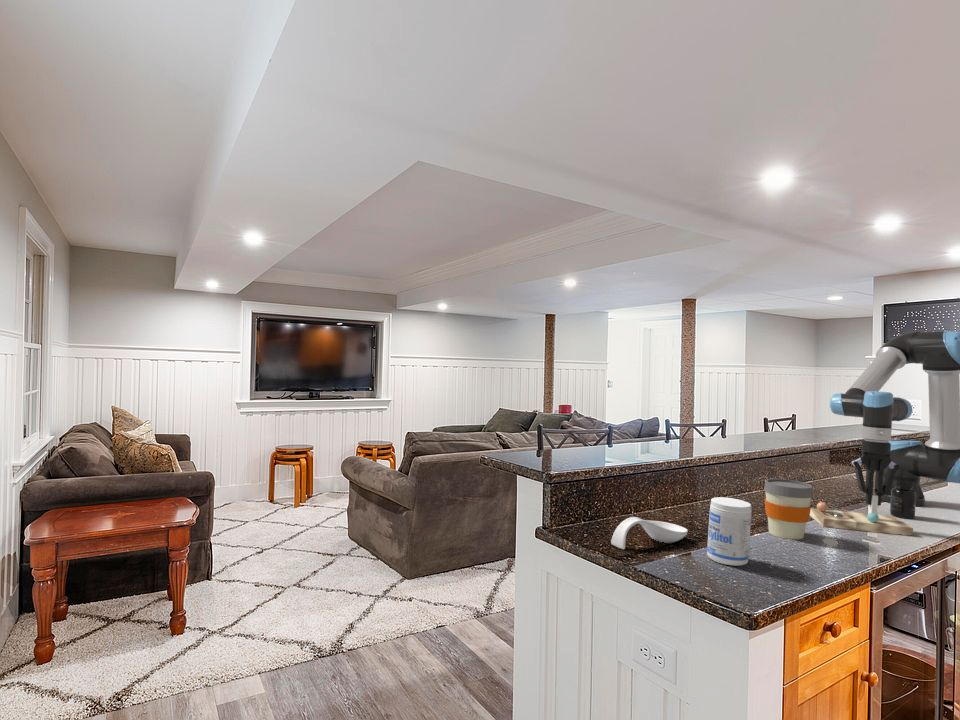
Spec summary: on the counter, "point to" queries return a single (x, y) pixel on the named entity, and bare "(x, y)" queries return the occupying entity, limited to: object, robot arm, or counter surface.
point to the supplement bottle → (903, 500)
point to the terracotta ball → (822, 506)
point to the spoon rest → (649, 531)
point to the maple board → (861, 522)
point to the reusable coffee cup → (787, 507)
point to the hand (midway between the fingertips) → (872, 515)
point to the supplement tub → (729, 531)
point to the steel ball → (837, 515)
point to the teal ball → (872, 517)
